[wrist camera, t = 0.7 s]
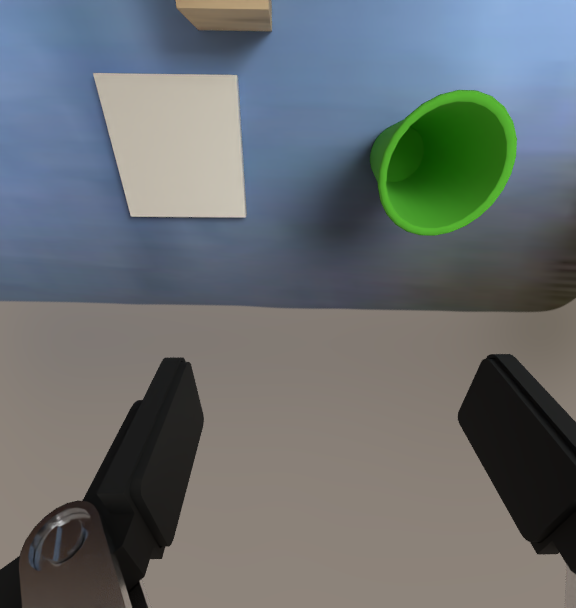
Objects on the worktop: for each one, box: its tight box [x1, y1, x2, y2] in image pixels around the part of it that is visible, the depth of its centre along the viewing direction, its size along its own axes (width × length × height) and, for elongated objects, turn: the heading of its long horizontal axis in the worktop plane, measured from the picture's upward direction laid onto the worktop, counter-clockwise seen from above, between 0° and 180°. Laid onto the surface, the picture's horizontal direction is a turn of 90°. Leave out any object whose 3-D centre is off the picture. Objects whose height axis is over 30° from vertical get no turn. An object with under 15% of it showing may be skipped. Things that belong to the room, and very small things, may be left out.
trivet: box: [93, 73, 247, 217], centre depth 29 cm, size 12×12×1 cm
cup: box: [370, 90, 517, 236], centre depth 25 cm, size 9×9×11 cm
